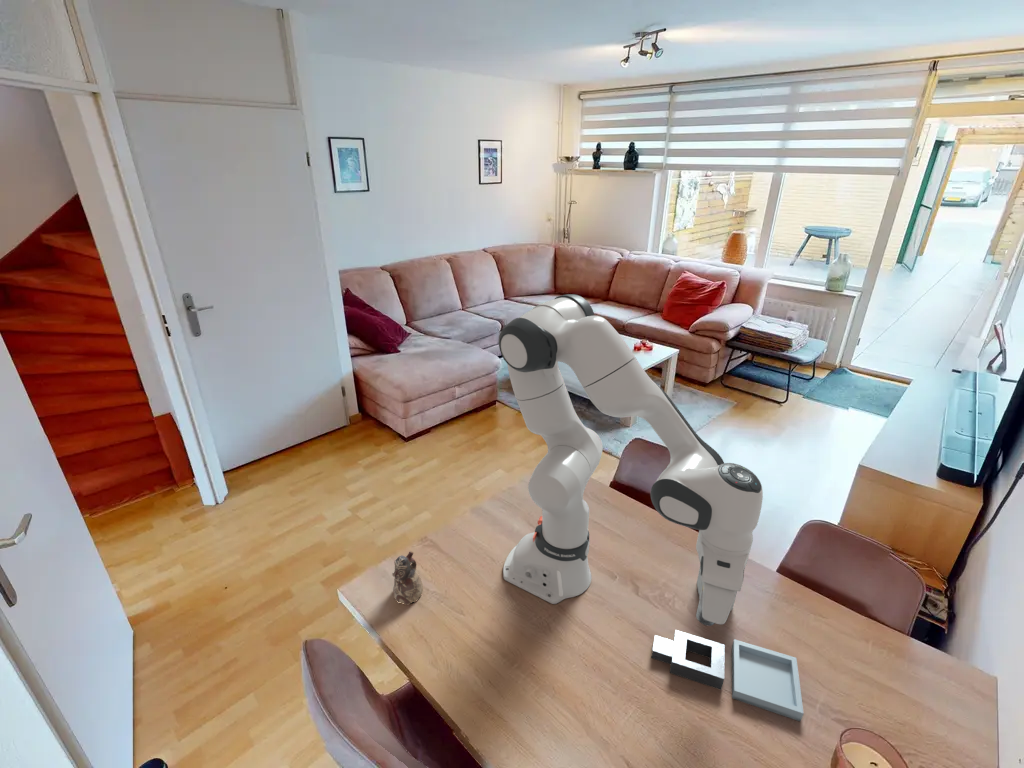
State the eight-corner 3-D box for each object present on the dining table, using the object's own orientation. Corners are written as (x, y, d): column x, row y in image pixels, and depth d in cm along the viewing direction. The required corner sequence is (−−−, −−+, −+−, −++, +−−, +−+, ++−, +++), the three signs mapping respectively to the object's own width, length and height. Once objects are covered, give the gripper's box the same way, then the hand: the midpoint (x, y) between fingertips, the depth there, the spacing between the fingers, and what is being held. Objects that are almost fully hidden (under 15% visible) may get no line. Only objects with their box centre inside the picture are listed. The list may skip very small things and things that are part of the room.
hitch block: (650, 666, 104) (651, 655, 102) (654, 634, 111) (656, 623, 109) (721, 690, 99) (724, 678, 98) (721, 655, 106) (724, 644, 104)
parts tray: (732, 698, 98) (734, 690, 97) (731, 646, 108) (734, 639, 107) (800, 721, 94) (803, 713, 92) (793, 665, 104) (796, 657, 102)
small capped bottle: (695, 622, 97) (703, 589, 93) (696, 607, 100) (704, 575, 96) (715, 628, 96) (723, 595, 92) (715, 613, 99) (723, 581, 95)
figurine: (388, 592, 122) (382, 555, 117) (413, 577, 126) (408, 541, 121) (403, 610, 117) (397, 573, 112) (428, 594, 122) (424, 557, 116)
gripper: (706, 506, 100) (695, 557, 106) (701, 581, 83) (689, 637, 89) (740, 514, 98) (727, 565, 104) (742, 593, 80) (727, 649, 87)
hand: (709, 599), depth 96 cm, fingers closed on small capped bottle, 4 cm apart
